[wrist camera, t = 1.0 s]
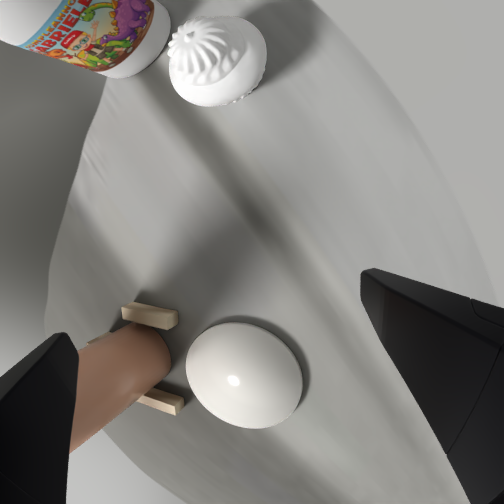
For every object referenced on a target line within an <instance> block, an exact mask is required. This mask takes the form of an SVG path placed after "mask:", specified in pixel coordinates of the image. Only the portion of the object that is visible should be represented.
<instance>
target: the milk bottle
mask: <svg viewBox="0 0 504 504" xmlns="http://www.w3.org/2000/svg"><path fill="white" fill-rule="evenodd" d="M170 29H171V20H170V17H169V13H168V11H167V9H166V8H165V7H164V6H163V5H161V4H160V3H159V2H158V1H157V0H0V40H2V41H4V42H6V43H9V44H12V45H15V46H18V47H21V48H24V49H27V50H30V51H34V52H37V53H40V54H44V55H47V56H50V57H53V58H56V59H59V60H62V61H65V62H68V63H71V64H74V65H77V66H80V67H83V68H86V69H89V70H91V71H94V72H97V73H100V74H103V75H106V76H109V77H112V78H126V77H130V76H133V75H135V74H137V73H139V72H141V71H142V70H144V69H145V68H146V67H148V66H149V65H150V64H151V63H152V62H153V61H154V60H155V59H156V58H157V57H158V55H159V54H160V52H161V51H162V50H163V48H164V46H165V44H166V42H167V40H168V37H169V34H170Z"/></svg>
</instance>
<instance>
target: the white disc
mask: <svg viewBox="0 0 504 504" xmlns="http://www.w3.org/2000/svg"><path fill="white" fill-rule="evenodd" d="M186 372H187V377H188V381H189V384H190V386H191V388H192V390H193V392H194V394H195V395H196V397H197V398H198V400H199V401H200V402H201V403H202V404H203V405H204V407H205V408H206V409H208V410H209V411H210V412H211V413H212V414H214V415H215V416H217V417H218V418H220V419H222V420H224V421H226V422H228V423H230V424H233V425H236V426H240V427H244V428H266V427H270V426H273V425H276V424H278V423H280V422H282V421H284V420H285V419H286V418H288V417H289V416H290V415H291V414H292V413H293V411H294V410H295V408H296V407H297V405H298V402H299V400H300V397H301V394H302V390H303V376H302V372H301V368H300V366H299V363H298V361H297V359H296V357H295V356H294V354H293V353H292V351H291V350H290V349H289V348H288V346H287V345H286V344H285V343H284V342H283V341H281V340H280V339H279V338H278V337H277V336H275V335H274V334H272V333H271V332H269V331H267V330H265V329H263V328H261V327H258V326H255V325H252V324H248V323H241V322H227V323H222V324H218V325H215V326H213V327H211V328H209V329H207V330H206V331H204V332H203V333H202V334H201V335H199V336H198V337H197V338H196V339H195V341H194V342H193V343H192V345H191V347H190V349H189V351H188V354H187V359H186Z"/></svg>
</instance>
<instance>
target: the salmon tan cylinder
mask: <svg viewBox="0 0 504 504" xmlns="http://www.w3.org/2000/svg"><path fill="white" fill-rule="evenodd" d="M77 352H78V354H79V369H78V381H77V395H76V405H75V412H74V418H73V426H72V433H71V442H70V451H69V454H70V453H71V452H72V451H73V450H75V449H76V448H77V447H79V446H80V445H81V444H83V443H84V442H85V441H86V440H88V439H89V438H90V437H91V436H93V435H94V434H95V433H97V432H98V431H99V430H100V429H102V428H103V427H104V426H106V425H107V424H108V423H109V422H111V421H112V420H113V419H114V418H116V417H117V416H118V415H119V414H121V413H122V412H123V411H124V410H126V409H127V408H128V407H129V406H131V405H132V404H133V403H134V402H135V401H137V400H138V399H139V398H140V397H142V396H143V395H144V394H145V393H146V392H148V391H149V390H150V389H151V388H153V387H154V386H155V385H156V384H157V383H159V382H160V381H161V380H162V379H163V378H165V377H166V376H167V375H168V373H169V371H170V368H171V357H170V353H169V350H168V347H167V345H166V343H165V342H164V340H163V339H162V337H161V336H160V335H159V334H158V333H157V332H156V331H155V330H154V329H152V328H151V327H149V326H147V325H145V324H141V323H136V322H135V323H130V324H128V325H126V326H124V327H122V328H121V329H119V330H117V331H115V332H113V333H111V334H109V335H107V336H105V337H103V338H101V339H99V340H97V341H95V342H93V343H92V344H90V345H88V346H86V347H84V348H82V349H80V350H78V351H77Z"/></svg>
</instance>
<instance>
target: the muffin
mask: <svg viewBox="0 0 504 504" xmlns="http://www.w3.org/2000/svg"><path fill="white" fill-rule="evenodd" d="M172 38H173V39H172V40H171V41H170V42H169V43H168V45H169V46H170V47H171V48H170V49H169V51H168V55H169V56H170V61H169V71H170V78H171V82H172V84H173V87H174V88H175V90H176V91H177V93H178V94H179V95H180V96H181V97H182V98H184V99H185V100H187V101H189V102H190V103H193V104H195V105H199V106H206V107H211V106H220V105H224V104H226V105H228V104H230V103H232V102H237V101H238V100H240V99H241V98H244V97H246V96H247V95H248V93H251V92H252V90H253V89H254V88H256V87H257V86H258V84H259V82H260V80H261V79H262V77H263V73H264V71H265V69H266V68H265V64H266V62H267V60H266V59H267V48H266V43H265V40H264V38H263V36H262V34H261V32H260V31H259V30H258V29H257V28H256V27H255V26H254V25H253V24H252V23H250V22H248V21H246V20H244V19H242V18H239V17H234V16H220V17H205V16H201V17H197V18H195V19H190V20H188V21H186V23H185V25H180V26H179V27H178V31H177V32H176V33H173V34H172Z"/></svg>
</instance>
